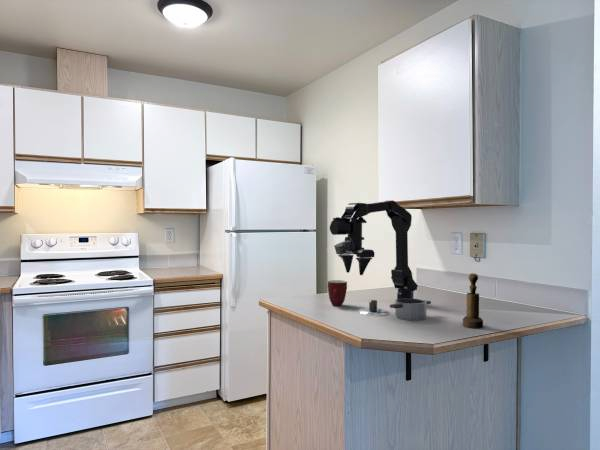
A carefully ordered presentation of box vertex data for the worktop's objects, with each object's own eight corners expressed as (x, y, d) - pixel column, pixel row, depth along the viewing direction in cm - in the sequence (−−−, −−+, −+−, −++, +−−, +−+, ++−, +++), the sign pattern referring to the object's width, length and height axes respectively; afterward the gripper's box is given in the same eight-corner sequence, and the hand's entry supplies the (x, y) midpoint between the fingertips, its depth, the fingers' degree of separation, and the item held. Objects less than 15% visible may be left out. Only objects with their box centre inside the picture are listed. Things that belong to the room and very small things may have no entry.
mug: (347, 308, 173) (347, 284, 173) (327, 308, 174) (327, 283, 174) (346, 303, 184) (346, 280, 184) (327, 303, 185) (327, 279, 185)
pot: (417, 311, 169) (417, 296, 169) (439, 317, 159) (439, 301, 159) (381, 316, 159) (382, 300, 159) (402, 323, 150) (403, 305, 150)
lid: (374, 309, 175) (374, 296, 175) (394, 314, 165) (394, 301, 165) (352, 312, 169) (352, 299, 169) (371, 318, 159) (371, 304, 159)
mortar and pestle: (459, 323, 150) (459, 272, 150) (477, 323, 150) (477, 272, 150) (468, 328, 143) (468, 274, 143) (486, 328, 144) (487, 274, 143)
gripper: (325, 233, 175) (324, 272, 175) (351, 235, 158) (350, 278, 158) (348, 233, 180) (347, 270, 180) (375, 235, 163) (375, 276, 164)
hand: (354, 273), depth 170 cm, fingers open, 9 cm apart
